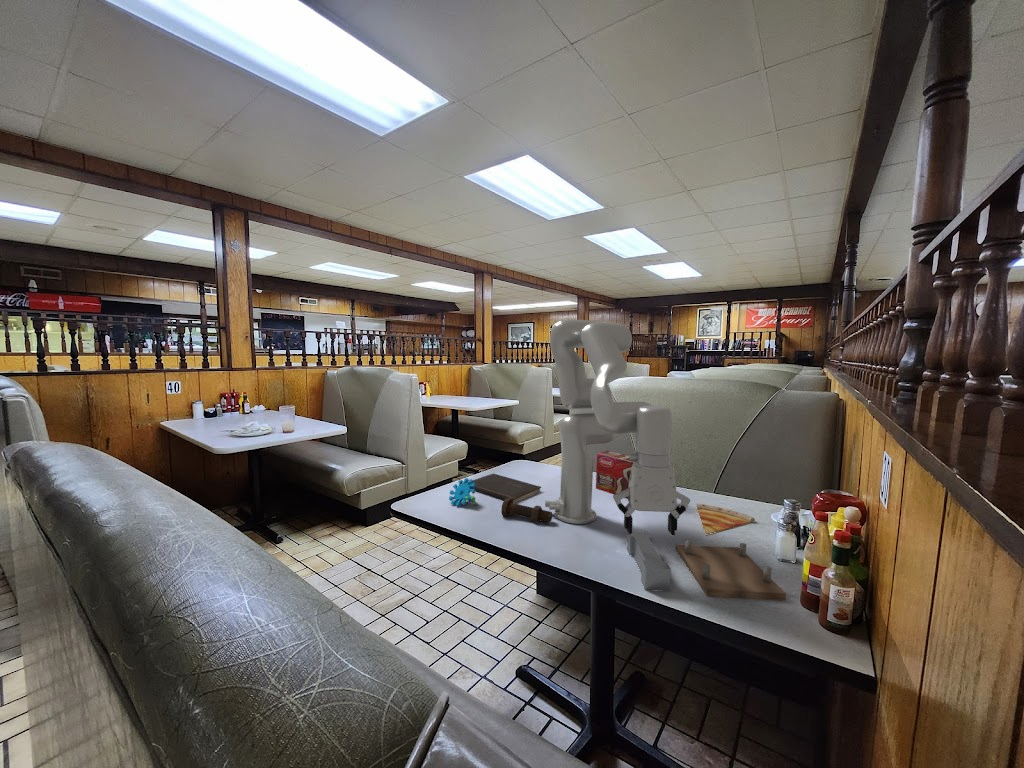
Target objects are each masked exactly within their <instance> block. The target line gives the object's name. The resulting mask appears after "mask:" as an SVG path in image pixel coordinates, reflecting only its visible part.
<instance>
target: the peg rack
mask: <svg viewBox="0 0 1024 768" xmlns="http://www.w3.org/2000/svg"><path fill="white" fill-rule="evenodd" d="M675 551H676V553H677V552H678V553H677V554H678V556H679V555H680V556H679V557H680V558H682V559H681V561H682V562H683V561H684V562H683V564H684V565H685V564H686V565H685V566H686V567H688V568H689V569H688V568H687V569H688V571H689V572H690V571H691V572H690V573H691V575H692V574H693V575H692V577H693V578H694V577H695V578H694V580H695V581H696V582H697V584H698V585H699V586H700V589H701V590H702V591H703V592H704V593H705V595H706V597H718V598H723V597H724V598H735V599H736V598H738V599H753V600H754V599H755V600H756V599H757V600H772V601H773V600H774V601H786V599H787V593H786V591H784V589H782V588H781V587H780V586H779V584H777V583H776V582H775V581H774V580H773V579H772V571H773V570H772V567H770V566H767V565H765V566H764V567H763V568H762V567H760V566H759V565H758V564H757V563H756V562H755V561H754V560H753V559H752V558H751V557H750V556H749V555H748V554H747V544H746V543H744V542H740V543H739V547H737V546H736V547H734V546H722V545H721V546H720V545H719V546H717V545H701V544H700V545H699V544H697V545H696V544H693V542H692V541H691V540H689V539H686V540H685V544H679V543H678V544H677V543H676V544H675Z"/></svg>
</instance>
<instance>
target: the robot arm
mask: <svg viewBox="0 0 1024 768" xmlns="http://www.w3.org/2000/svg"><path fill="white" fill-rule="evenodd" d="M632 342H633V337H632V332H631V330H630V329H629V328H628V326H627V325H625V324H624V323H621V322H610V321H609V322H608V321H602V320H588V319H571V318H570V319H563V320H559V321H557V322H555V324H553V326H552V327H551V330H550V335H549V347H550V350H551V355H552V357H553V359H554V363H555V366H556V372H557V373H556V374H557V381H558V389H559V397H560V402H561V404H562V407H564V409H567V410H591V412H584V413H582V412H581V413H572V414H567V415H566V416H564V417H563V418H562V419H561V420H560V422H559V425H558V426H559V427H558V431H559V439H560V446H561V447H560V448H561V449H560V450H561V463H560V467H561V468H560V469H561V470H560V491H559V492H560V494H559V495H560V497H558V499H555V501H553V500H552V501H551V500H544V502H545V503H544V506H545V508H549V511H550V510H554V516H555V518H557V520H560V521H562V522H564V523H565V522H566V523H567V524H576V525H577V524H578V525H583V524H584V525H586V524H589V523H592V522H594V521H595V520H596V519H597V512H596V511H595V510H594V509H593V508H592V498H593V478H594V477H593V476H594V475H593V474H594V473H593V472H594V460H593V457H592V454H591V452H590V451H589V449H588V446H592V445H601V444H608V443H611V442H612V441H613V440H614V439H615V437H616V434H618V435H619V434H628V433H630V434H631V433H632V434H634V433H635V434H636V435H635V438H636V439H635V450H634V453H632V454H631V453H630V454H628V456H629V459H630V460H633V461H635V463H633V465H632V469H631V473H630V479H629V487H628V489H626V490H623V491H621V492H619V493H617V494H615V495H614V494H612V499H613V500H614V502H615V504H616V506H617V508H618V510H620V511H621V512H622V514H623V516H624V517H623V527H624V529H625V530H626V531H627V534H628V533H629V534H631V533H632V531H633V516H632V514H633V513H635V511H637V512H657V513H658V512H659V513H660V512H662V513H663V512H664V513H667V512H668V514H667V531H668V532H669V534H670V535H671V536H676V532H677V530H678V519H680V518H681V517H680V516H682V515H683V514H684V513H685V512H686V510H687V508H688V506H689V504H690V503H691V499H690V498H689V497H688V496H686V495H684V494H683V493H681V492H679V491H677V483H676V482H677V481H676V475H675V473H676V471H675V469H674V467H673V466H672V465H671V445H672V444H671V443H672V421H673V420H672V418H673V414H672V410H671V409H670V408H668V407H667V406H662V405H654V404H651V403H649V402H647V401H646V402H645V401H619V402H618V401H615V402H613V395H612V391H611V390H612V389H611V387H610V386H609V384H610V383H612V382H615V381H616V380H618V379H619V378H620V377H622V376H623V375H624V374H625V372H626V370H627V367H628V364H627V362H626V360H625V357H624V355H623V353H625V352H627V351H628V350H629V349H630V348H631V346H632ZM576 348H577V349H584V351H585V354H586V355H587V358H588V360H589V362H590V365H591V367H592V369H593V372H594V373H595V374H594V375H595V377H594V378H593V377H590V378H588V377H587V376H586V369H585V364H584V361H583V359H582V357H581V356H580V355H579V354H578V352H576V350H575V349H576ZM627 496H628V499H627V502H628V503H627V504H626V505H624V504H623V502H622V500H623V499H626V498H625V497H627ZM677 500H679V501H680V504H678V505H677V502H678V501H677Z"/></svg>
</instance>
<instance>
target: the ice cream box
mask: <svg viewBox="0 0 1024 768" xmlns="http://www.w3.org/2000/svg"><path fill="white" fill-rule="evenodd" d="M633 463H635V461H633V460H630V459H629V454H628V455H627V454H623V453H620V452H615V451H610V450H605V451H600V452H597V454H596V470H595V471H596V473H595V474H596V475H595V489H596V490H599V491H603V492H605V493H608V494H612V495H615V494H617V493H619V492H621V491H623V490H626V489H628V487H629V479H630V473H631V469H632V465H633ZM624 499H626V500H628V496H627V497H625V498H624Z"/></svg>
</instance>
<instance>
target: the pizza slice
mask: <svg viewBox="0 0 1024 768" xmlns="http://www.w3.org/2000/svg"><path fill="white" fill-rule="evenodd" d="M695 505H696V506H695V507H697V508H696V511H697V510H698V511H697V513H699V514H698V516H700V517H699V519H701V520H700V522H702V523H701V525H703V526H702V528H704V529H703V531H704V530H705V532H704V534H705V533H706V534H710V533H713V534H715V533H714V532H717V533H719V532H718V531H720V532H723V531H722V530H724V531H727V530H730V528H731V529H734V528H737V526H738V527H741V526H745V525H748V524H747V523H749V524H751V522H752V523H754V521H755V522H756V519H755V517H753V516H750V515H747V514H744V513H742V512H738V511H735V510H732V509H728V508H724V507H720V506H715V505H709V504H705V503H696V504H695ZM744 524H745V525H744ZM733 527H734V528H733ZM726 529H727V530H726ZM710 535H711V534H710Z"/></svg>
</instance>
